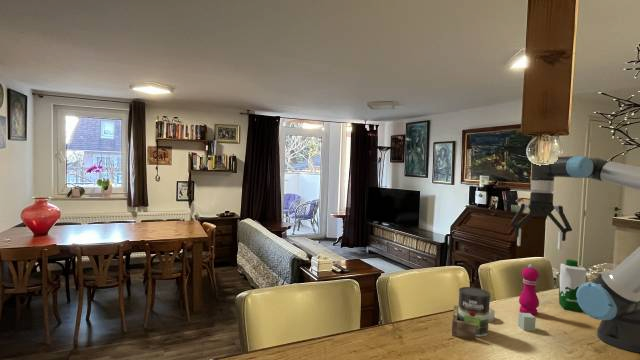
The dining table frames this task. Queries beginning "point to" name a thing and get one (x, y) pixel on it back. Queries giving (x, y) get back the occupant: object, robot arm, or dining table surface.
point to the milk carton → (570, 284)
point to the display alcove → (462, 327)
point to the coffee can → (474, 308)
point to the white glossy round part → (491, 315)
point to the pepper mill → (529, 291)
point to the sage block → (526, 321)
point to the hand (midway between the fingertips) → (538, 247)
